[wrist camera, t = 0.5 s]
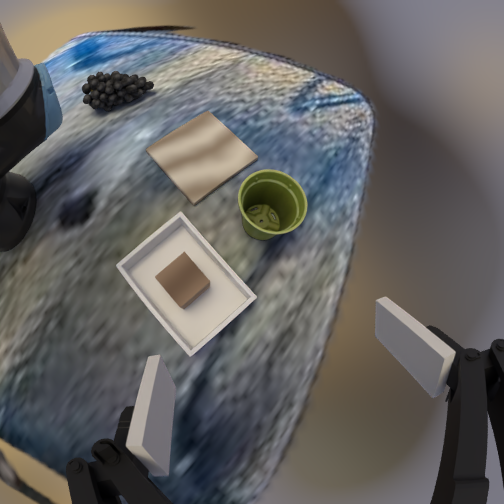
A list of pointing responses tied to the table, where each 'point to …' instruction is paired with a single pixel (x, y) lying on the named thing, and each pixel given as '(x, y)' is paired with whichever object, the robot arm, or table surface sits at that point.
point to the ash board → (201, 156)
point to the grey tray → (206, 305)
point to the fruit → (113, 89)
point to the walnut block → (183, 280)
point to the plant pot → (271, 204)
